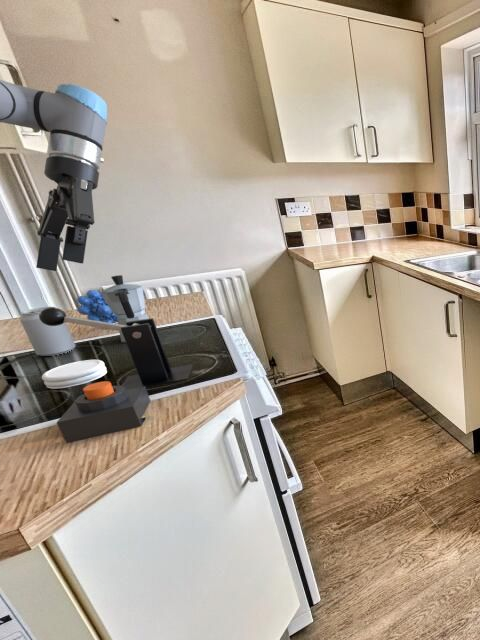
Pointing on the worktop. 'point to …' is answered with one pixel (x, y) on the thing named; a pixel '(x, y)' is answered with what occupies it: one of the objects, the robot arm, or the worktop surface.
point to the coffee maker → (125, 302)
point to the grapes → (96, 307)
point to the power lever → (73, 320)
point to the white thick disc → (74, 374)
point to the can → (46, 334)
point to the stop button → (98, 390)
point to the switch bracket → (149, 357)
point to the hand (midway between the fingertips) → (59, 265)
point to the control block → (104, 414)
